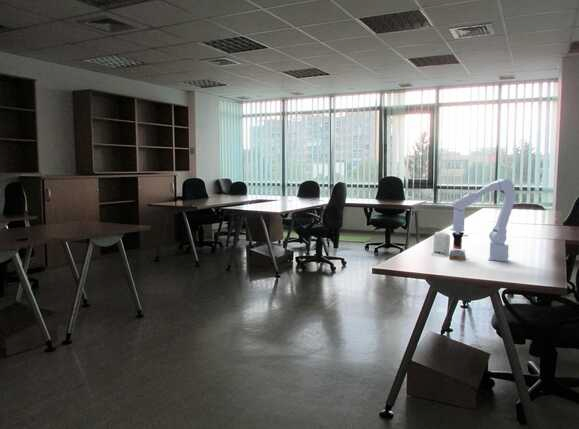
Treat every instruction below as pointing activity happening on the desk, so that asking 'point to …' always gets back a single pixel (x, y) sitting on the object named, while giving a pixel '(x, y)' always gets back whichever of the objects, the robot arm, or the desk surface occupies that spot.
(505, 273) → the desk surface
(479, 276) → the desk surface
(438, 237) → the photo printer
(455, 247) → the red block
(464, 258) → the walnut slab
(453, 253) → the grey slab
